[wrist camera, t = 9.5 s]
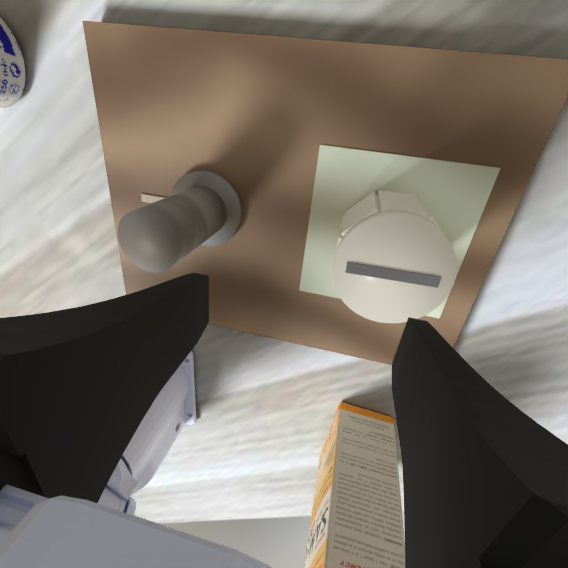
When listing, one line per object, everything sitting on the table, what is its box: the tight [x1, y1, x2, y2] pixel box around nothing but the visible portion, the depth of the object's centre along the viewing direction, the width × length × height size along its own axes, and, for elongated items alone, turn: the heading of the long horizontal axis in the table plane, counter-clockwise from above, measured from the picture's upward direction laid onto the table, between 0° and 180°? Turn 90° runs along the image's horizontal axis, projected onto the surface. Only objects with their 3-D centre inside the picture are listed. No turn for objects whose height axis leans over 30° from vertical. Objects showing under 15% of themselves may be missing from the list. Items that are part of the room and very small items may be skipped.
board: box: [83, 21, 568, 365], centre depth 17 cm, size 18×24×8 cm
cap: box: [332, 190, 457, 323], centre depth 16 cm, size 5×5×5 cm
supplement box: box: [304, 402, 405, 568], centre depth 23 cm, size 8×5×13 cm, turn 170°
